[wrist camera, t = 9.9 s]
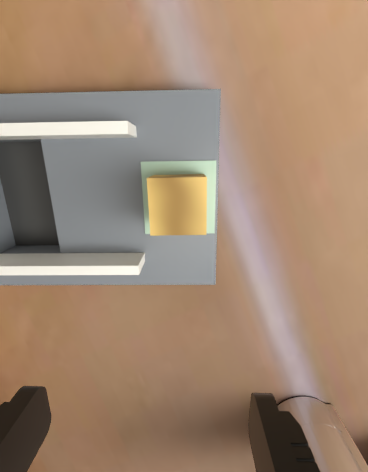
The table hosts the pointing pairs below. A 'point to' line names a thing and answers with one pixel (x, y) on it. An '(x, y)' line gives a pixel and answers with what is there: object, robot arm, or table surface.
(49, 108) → the walled pit deck
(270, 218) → the table surface
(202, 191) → the mustard block
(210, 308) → the table surface
